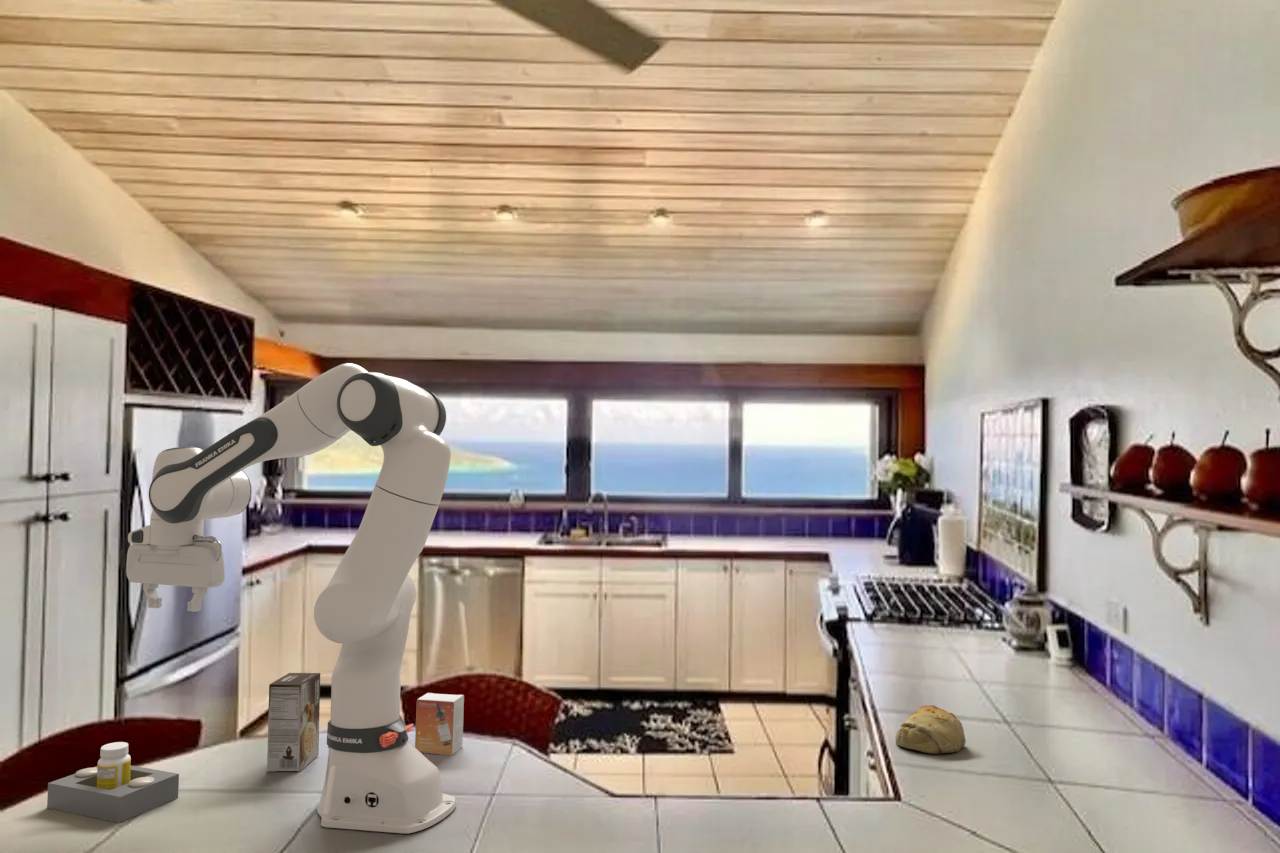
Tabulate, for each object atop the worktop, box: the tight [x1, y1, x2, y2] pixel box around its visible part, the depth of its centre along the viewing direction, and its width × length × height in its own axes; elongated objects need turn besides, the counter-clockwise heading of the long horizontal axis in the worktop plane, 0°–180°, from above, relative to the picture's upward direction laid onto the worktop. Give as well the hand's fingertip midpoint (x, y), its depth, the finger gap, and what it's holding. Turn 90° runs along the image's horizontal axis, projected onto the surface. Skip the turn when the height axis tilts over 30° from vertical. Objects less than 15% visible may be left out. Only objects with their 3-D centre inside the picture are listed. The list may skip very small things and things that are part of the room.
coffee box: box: [266, 672, 322, 772], centre depth 164 cm, size 9×6×16 cm
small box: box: [414, 692, 465, 757], centre depth 173 cm, size 8×6×10 cm
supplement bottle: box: [96, 741, 132, 790], centre depth 144 cm, size 5×5×8 cm
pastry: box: [895, 705, 967, 755], centre depth 179 cm, size 14×12×8 cm
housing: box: [46, 765, 180, 824], centre depth 144 cm, size 16×11×4 cm
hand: (174, 609), depth 160 cm, fingers open, 8 cm apart
